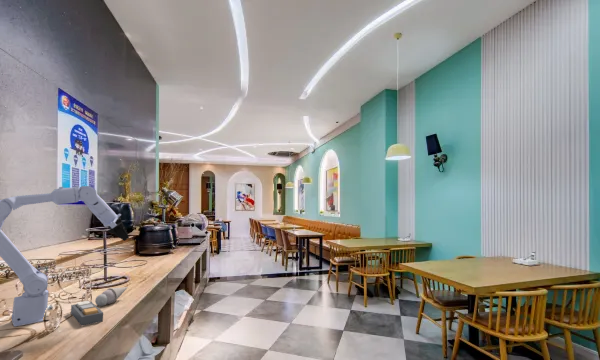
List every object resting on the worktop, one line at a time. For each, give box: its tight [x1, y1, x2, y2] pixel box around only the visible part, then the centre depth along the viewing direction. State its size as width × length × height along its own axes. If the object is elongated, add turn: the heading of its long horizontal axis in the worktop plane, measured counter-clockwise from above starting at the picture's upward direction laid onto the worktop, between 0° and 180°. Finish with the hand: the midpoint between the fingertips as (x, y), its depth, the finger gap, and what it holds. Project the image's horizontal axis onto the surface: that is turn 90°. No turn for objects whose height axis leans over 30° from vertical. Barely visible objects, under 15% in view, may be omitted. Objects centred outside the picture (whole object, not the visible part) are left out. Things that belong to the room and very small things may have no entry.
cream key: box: [76, 300, 91, 308], centre depth 121 cm, size 4×4×1 cm
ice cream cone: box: [94, 286, 129, 307], centre depth 135 cm, size 6×6×15 cm
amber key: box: [83, 307, 98, 315], centre depth 114 cm, size 4×4×1 cm
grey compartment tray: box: [70, 301, 104, 327], centre depth 118 cm, size 6×16×3 cm, turn 45°
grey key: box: [80, 304, 94, 311], centre depth 118 cm, size 4×4×1 cm
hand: (126, 237), depth 132 cm, fingers open, 7 cm apart
